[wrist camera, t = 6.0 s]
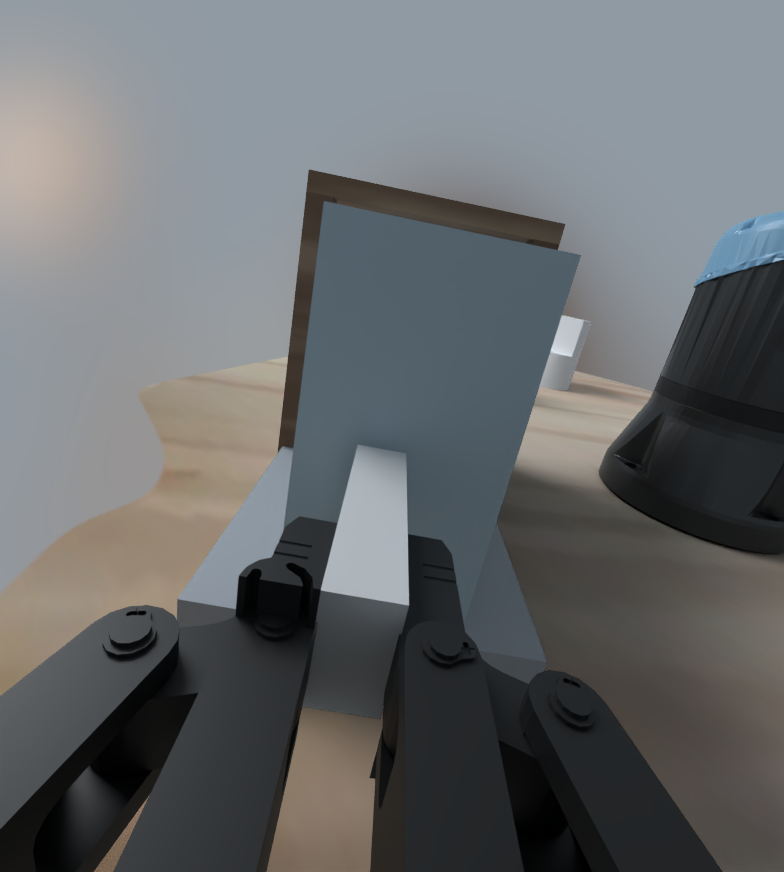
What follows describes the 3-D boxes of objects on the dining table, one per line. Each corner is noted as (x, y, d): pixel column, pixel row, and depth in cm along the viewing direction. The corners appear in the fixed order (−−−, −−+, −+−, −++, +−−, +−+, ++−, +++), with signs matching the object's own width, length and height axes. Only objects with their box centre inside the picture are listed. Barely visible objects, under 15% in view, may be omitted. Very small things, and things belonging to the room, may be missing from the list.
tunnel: (477, 517, 30) (565, 224, 24) (274, 480, 29) (308, 169, 23) (457, 449, 41) (513, 238, 35) (310, 421, 40) (340, 202, 34)
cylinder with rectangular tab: (509, 376, 81) (528, 308, 77) (533, 375, 87) (552, 312, 83) (554, 391, 75) (577, 320, 71) (576, 389, 82) (600, 323, 77)
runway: (526, 712, 17) (547, 662, 16) (175, 654, 16) (177, 598, 15) (454, 448, 41) (460, 423, 40) (313, 421, 40) (317, 395, 40)
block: (463, 626, 17) (580, 255, 12) (275, 594, 16) (324, 200, 12) (437, 468, 30) (489, 262, 25) (333, 449, 29) (366, 236, 25)
